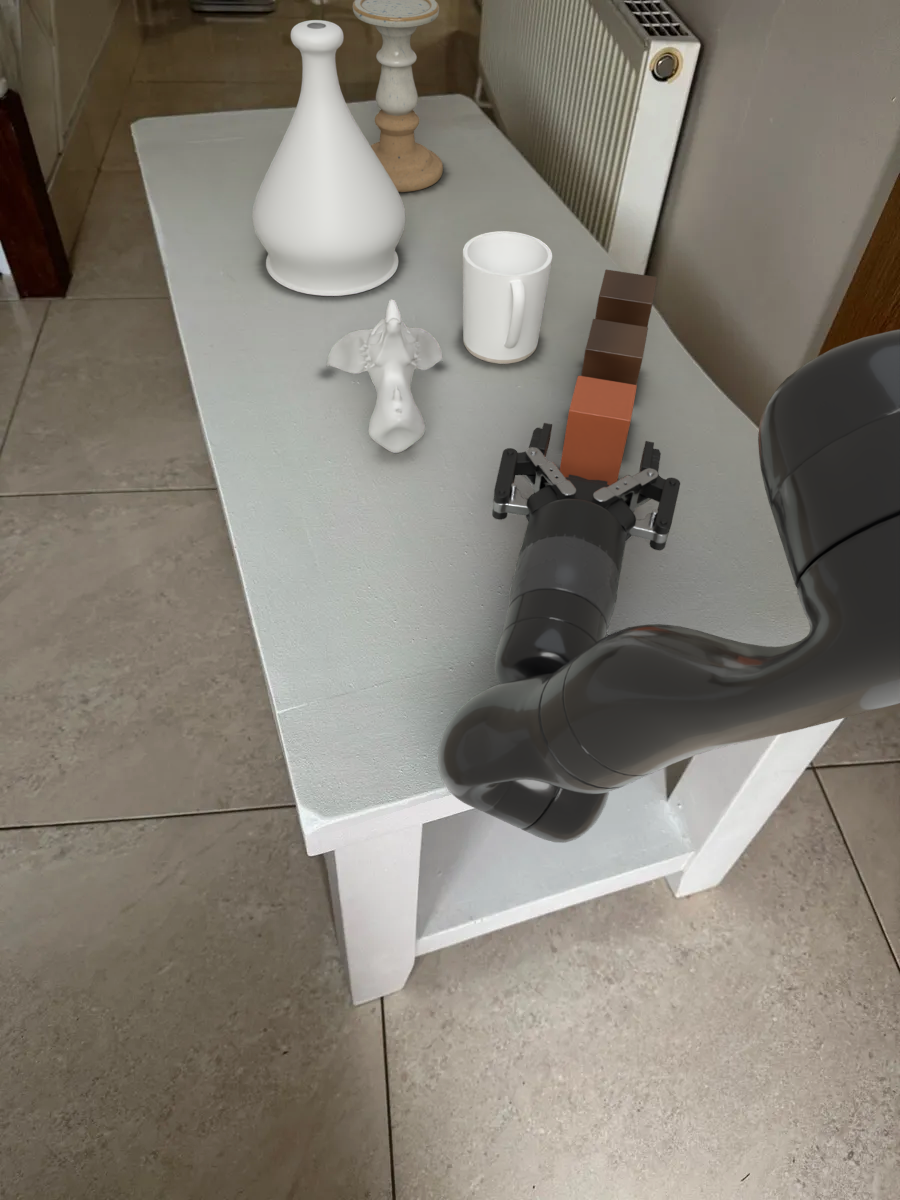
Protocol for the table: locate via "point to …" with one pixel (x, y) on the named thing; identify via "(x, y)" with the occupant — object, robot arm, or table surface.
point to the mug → (504, 295)
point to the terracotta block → (597, 429)
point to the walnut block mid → (614, 351)
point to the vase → (327, 187)
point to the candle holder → (400, 91)
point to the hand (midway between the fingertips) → (596, 440)
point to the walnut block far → (626, 298)
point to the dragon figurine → (390, 374)
